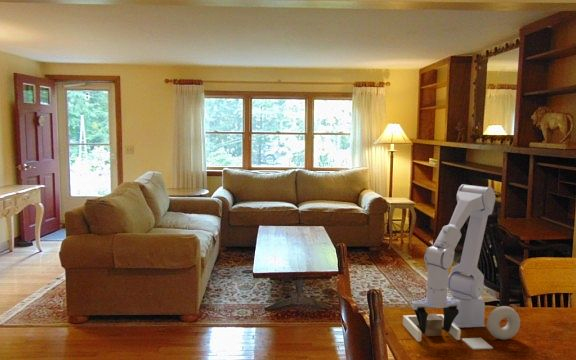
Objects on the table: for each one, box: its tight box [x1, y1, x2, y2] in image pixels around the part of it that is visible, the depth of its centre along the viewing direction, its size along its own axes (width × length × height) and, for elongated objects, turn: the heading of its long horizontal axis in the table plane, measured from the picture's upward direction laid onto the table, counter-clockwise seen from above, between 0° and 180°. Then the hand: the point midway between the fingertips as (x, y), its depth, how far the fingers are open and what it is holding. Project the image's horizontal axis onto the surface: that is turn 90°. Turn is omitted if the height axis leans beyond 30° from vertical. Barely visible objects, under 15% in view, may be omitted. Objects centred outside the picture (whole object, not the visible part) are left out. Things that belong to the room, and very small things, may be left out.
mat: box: [461, 337, 494, 350], centre depth 129 cm, size 6×6×1 cm
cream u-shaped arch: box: [402, 313, 462, 343], centre depth 136 cm, size 13×12×3 cm
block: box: [423, 313, 443, 337], centre depth 136 cm, size 4×4×5 cm
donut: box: [486, 305, 521, 341], centre depth 132 cm, size 10×4×10 cm, turn 98°
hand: (434, 331), depth 134 cm, fingers open, 7 cm apart
